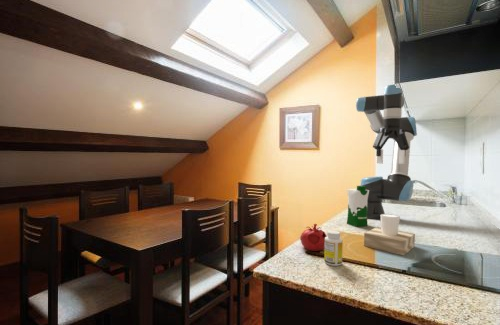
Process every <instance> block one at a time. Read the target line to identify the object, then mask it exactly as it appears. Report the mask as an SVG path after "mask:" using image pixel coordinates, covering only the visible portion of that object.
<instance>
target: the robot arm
mask: <svg viewBox="0 0 500 325" xmlns="http://www.w3.org/2000/svg"><path fill="white" fill-rule="evenodd" d="M383 90H384V91H383V94H381V95H372V96H370V95H369V96H361V97H358V98H357V99H356V102H355V103H356V104H355V108H356V111H357V112H360V113H361V112H362V113H364V115H365V117H367V120H368V122H369V127H370V129H371V130H372V132H374V133H376V134H377V135H376V138H375V140H374V142H373V144H372V148H374V150H376V151H375V152H376V153H375V154H376V163H377V164H378V165H379V164H380V165H381V164H383V163H384V149H383V147H384V146H385V145H386V143H387V142H388V141H389V139H392V140H393V141H394V142H393V150H392V159H391V169H390V170H391V171H390V174H388V175H387V179H386V178H384V177H383V176H367V177H362V178H361V180H360V185H359V186H365V190H369V195H368V200H367V219H370V218H371V219H372V220H374V219H375V220H381V217H380V215H381V214H386V213H385V210H384V207H383V200H385V201H394V202H395V201H396V202H409V201H410V200H411V198H412V195H413V192H414V191H413V190H414V183H415V182H414V181H413V180H412V179H411V176H409V164H410V155H411V154H410V153H411V142H412V141H413V140H414V139H415V137H417V136H418V133H417V123H416V122H417V121H416V118H415V116H404V117H402V115H403V114H402V113H403V110H402V108H403V107H404V106H405V97H404V96H403V88H402V89H400V88H396V86H395V84H388V85H386V86H384V88H383ZM381 111H383V114H382V113H381ZM371 219H370V220H371Z"/></svg>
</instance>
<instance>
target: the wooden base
mask: <svg viewBox="0 0 500 325" xmlns="http://www.w3.org/2000/svg"><path fill="white" fill-rule="evenodd" d="M415 237H416V233H413V232H408V231H402V230H398V235H386V234H383V233H382V231H381V226H377V227H374V228H372V229H370V230H368V231H366V232H364V236H363V246H364V247H367V248H371V249H376V250H379V251H383V252H388V253H392V254H397V255H401V256H405V255H406V254H407V253H409V252H410V251H411V250H412V249H413V248H415V243H416V240H415V239H416V238H415Z"/></svg>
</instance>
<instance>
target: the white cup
mask: <svg viewBox="0 0 500 325" xmlns="http://www.w3.org/2000/svg"><path fill="white" fill-rule="evenodd" d="M380 217H381V219H380V227H381V231H382V233H383V234H386V235H398V231H399V228H400V227H399V226H400V220H401V217H400V216H399V215H397V214H392V213H391V214H390V213H385V214H381V215H380Z"/></svg>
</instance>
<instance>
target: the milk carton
mask: <svg viewBox="0 0 500 325" xmlns="http://www.w3.org/2000/svg"><path fill="white" fill-rule="evenodd" d="M346 191H347V201H348V202H347V219H346V224H347V225H350V226H354V227H355V228H359V227H368V218H367V200H368V195H369V190H365V186H360V185H356V188H349V189H348V188H347V189H346Z"/></svg>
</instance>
